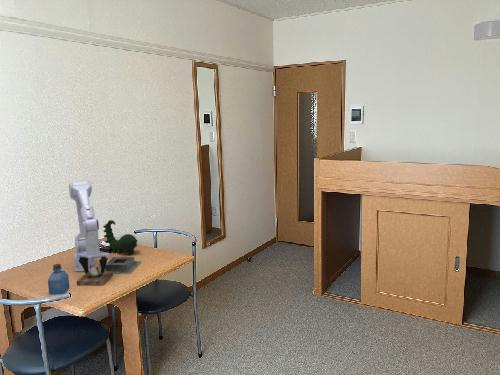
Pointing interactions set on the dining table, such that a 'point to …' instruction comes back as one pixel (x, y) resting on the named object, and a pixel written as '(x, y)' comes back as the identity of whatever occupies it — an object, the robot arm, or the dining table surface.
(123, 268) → the metal hub block
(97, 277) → the steel peg
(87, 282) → the walnut stand
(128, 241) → the toy figurine
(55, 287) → the perfume bottle
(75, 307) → the dining table surface
